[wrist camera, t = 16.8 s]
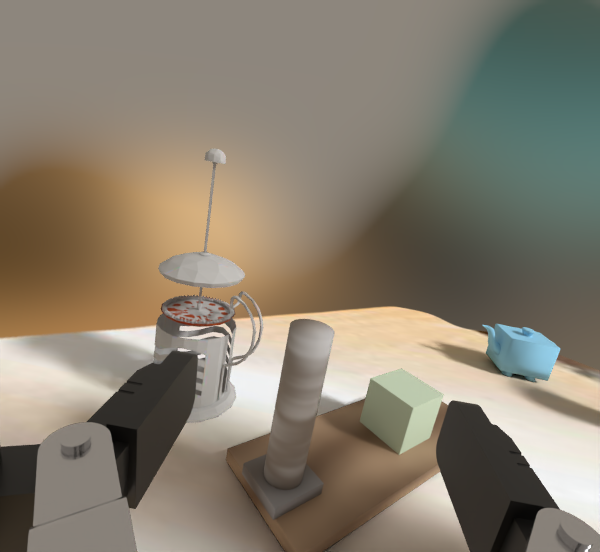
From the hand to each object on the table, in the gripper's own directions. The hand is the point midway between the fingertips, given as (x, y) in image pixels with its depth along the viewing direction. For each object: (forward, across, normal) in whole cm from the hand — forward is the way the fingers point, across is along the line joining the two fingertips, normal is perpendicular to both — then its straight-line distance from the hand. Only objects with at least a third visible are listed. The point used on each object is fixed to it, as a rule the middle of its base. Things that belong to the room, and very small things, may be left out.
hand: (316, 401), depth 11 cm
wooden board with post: (+19, -8, +18) cm, 27 cm away
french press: (+22, +11, +18) cm, 31 cm away
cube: (+21, -10, +17) cm, 29 cm away
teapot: (+45, -33, +19) cm, 59 cm away
